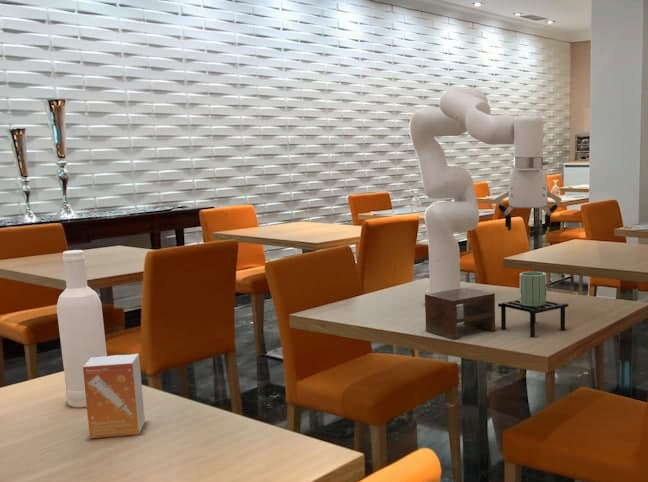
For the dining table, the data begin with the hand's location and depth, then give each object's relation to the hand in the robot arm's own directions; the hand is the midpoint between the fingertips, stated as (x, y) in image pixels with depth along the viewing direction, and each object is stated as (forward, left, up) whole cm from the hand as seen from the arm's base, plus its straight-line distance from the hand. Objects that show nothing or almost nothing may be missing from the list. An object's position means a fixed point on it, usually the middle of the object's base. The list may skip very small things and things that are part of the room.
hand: (527, 229), depth 198 cm
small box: (+7, -106, -26) cm, 110 cm away
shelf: (-9, -16, -26) cm, 32 cm away
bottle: (-14, -106, -26) cm, 110 cm away
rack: (+3, -1, -26) cm, 26 cm away
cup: (+3, -1, -19) cm, 20 cm away
